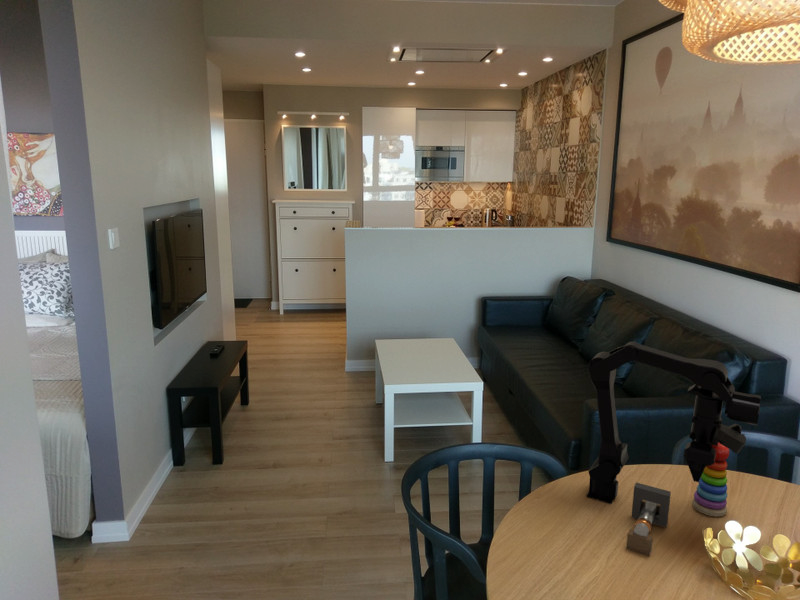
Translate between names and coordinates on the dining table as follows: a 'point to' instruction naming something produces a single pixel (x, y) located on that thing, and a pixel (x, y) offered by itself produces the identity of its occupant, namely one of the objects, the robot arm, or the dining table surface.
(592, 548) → the dining table surface
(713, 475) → the stacking toy
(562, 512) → the dining table surface
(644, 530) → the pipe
